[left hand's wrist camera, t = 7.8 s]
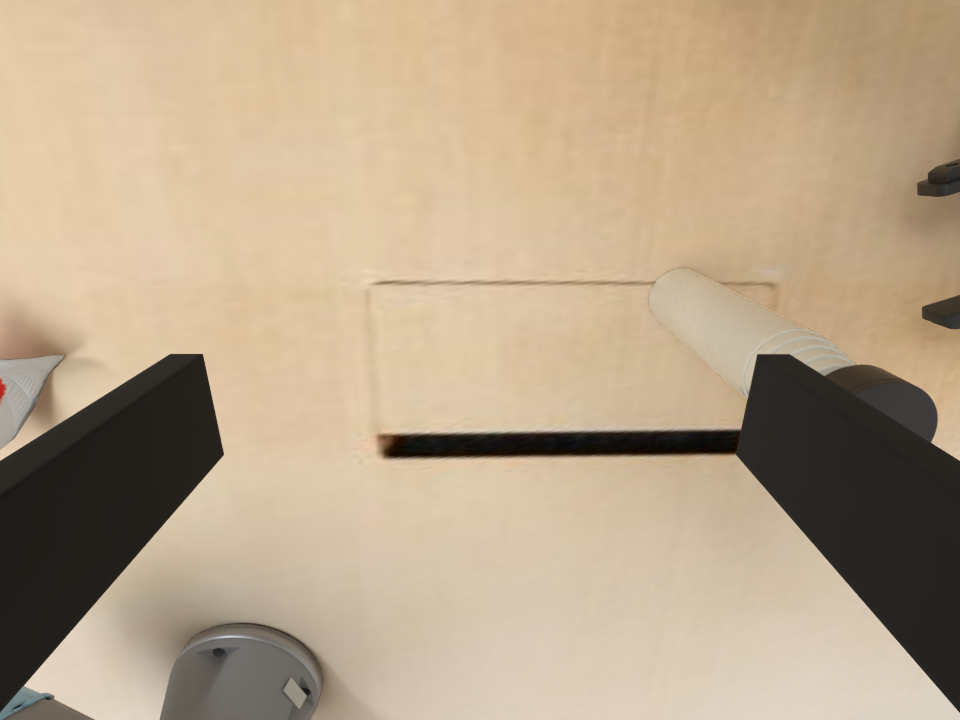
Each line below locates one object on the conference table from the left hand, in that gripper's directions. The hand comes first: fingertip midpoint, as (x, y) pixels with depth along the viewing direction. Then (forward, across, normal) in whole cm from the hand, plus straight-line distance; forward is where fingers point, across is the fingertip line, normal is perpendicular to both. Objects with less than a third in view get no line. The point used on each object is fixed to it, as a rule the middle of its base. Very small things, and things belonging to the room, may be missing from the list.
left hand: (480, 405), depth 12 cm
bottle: (+28, -16, +5) cm, 33 cm away
